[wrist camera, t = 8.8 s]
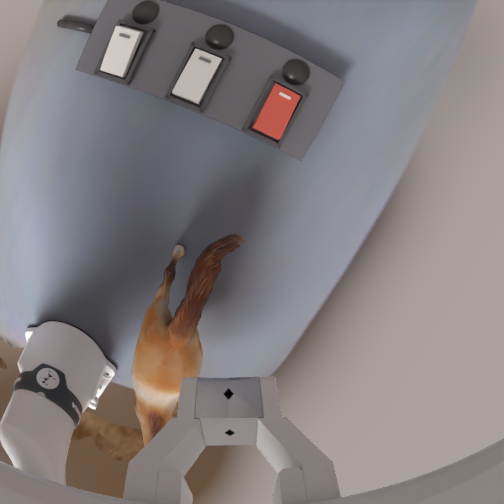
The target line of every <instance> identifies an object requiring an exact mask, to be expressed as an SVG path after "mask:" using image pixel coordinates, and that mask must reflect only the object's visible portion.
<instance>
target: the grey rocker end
mask: <svg viewBox="0 0 504 504" xmlns="http://www.w3.org/2000/svg"><path fill="white" fill-rule="evenodd" d="M142 35H143V32H141V31H138V30H134V29H131V28H127V27H123V26H116V27H115V30H114V32H113V35H112V37H111V40H110V43H109V45H108V48H107V51H106V54H105V56H104V59H103V62H102V65H101V68H100V70H101V71H104V72H108V73H111V74H114V75H117V76H120V77H125V76H126V75H127V73H128V70H129V67H130V65H131V62H132V59H133V57H134V54H135V52H136V49H137V47H138V44H139V42H140V40H141V37H142Z"/></svg>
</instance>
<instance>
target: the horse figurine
mask: <svg viewBox="0 0 504 504" xmlns="http://www.w3.org/2000/svg"><path fill="white" fill-rule="evenodd" d="M244 240H245V239H244V238H242V237H240V236H238V235H235V234H234V235H228V236H226V237H223V238H221V239H219V240H218V241H216V242H214V243H212V244H210V245H209V246H208V247H207V248H206V249H205V250H204V251H203V252H202V254H201V255H200V256H199V257H198V259H197V261H196V263H195V266H194V268H193V270H192V272H191V276H190V278H189V282H188V286H187V292H186V296H185V298H184V299H183V300H182V301H181V303H180V305H179V307H178V308H177V310H176V312H175V316H174V318H173V317H172V315H171V313H170V311H169V309H168V303H169V293H170V286H171V284H172V282H173V280H174V278H175V273H176V271H175V266H176V263H177V260H178V259H179V258H181V257H183V256H184V254H185V249H184V247H183V246H180V245H176V246H175V248H174V250H173V254H172V260H171V262H170V264H169V266H168V267H167V268H166V269H165V272H164V281H163V283H162V284H161V286H160V287H159V289H158V291H157V293H156V295H155V297H154V301H153V303H152V304H151V306H150V307H149V308H148V309H147V311H146V313H145V317H144V320H143V323H142V327H141V330H140V334H139V338H138V342H137V346H136V350H135V354H134V360H133V367H132V381H133V385H134V388H135V390H134V394H135V397H134V410H135V412H136V414H137V416H138V419H139V421H140V424H141V428H142V434H143V440H144V446H146V445H147V444H148V443H149V442H150V441H151V440H152V439H153V438H154V437H155V436H156V434H157V433H158V432H159V431H160V430H161V429H162V428H163V427H164V426H165V425H166V424H167V423H168V422H169V421H170V420H171V419H172V418H174V416H175V414H176V412H177V409H178V400H179V395H180V387H181V380H182V378H183V377H199V374H200V369H201V365H202V359H203V352H202V347H201V343H200V340H199V332H198V329H197V327H196V326H197V325H198V322H199V320H200V317H201V313H202V308H203V306H204V305H205V303H206V301H207V299H208V297H209V295H210V293H211V290H212V287H213V284H214V282H215V280H216V279H217V277H218V273H219V272H220V271H221V260H222V259H223V257H224V256H225V255H226V254H227V253H229V252H232V251H234V250H235V248H238V247H240V245H239V244H240V243H241V242H243V241H244Z"/></svg>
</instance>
